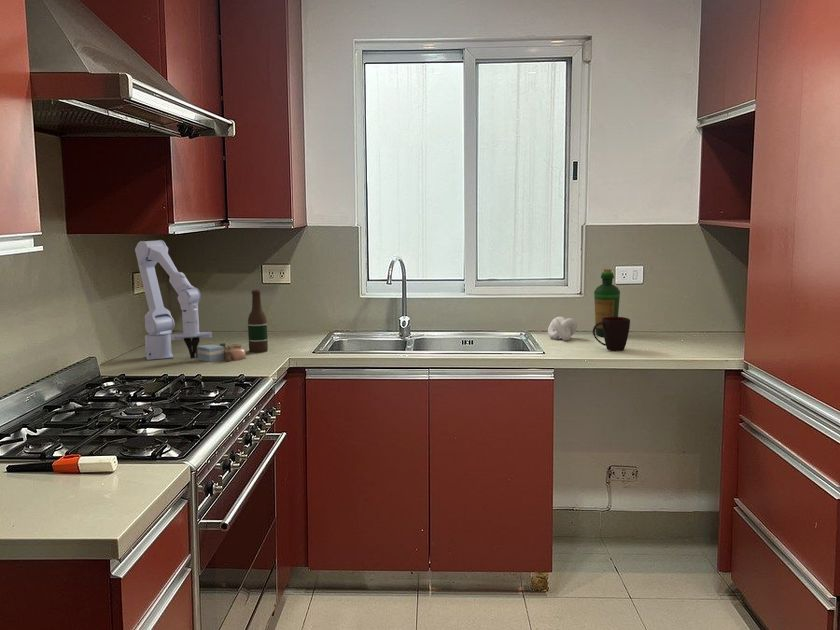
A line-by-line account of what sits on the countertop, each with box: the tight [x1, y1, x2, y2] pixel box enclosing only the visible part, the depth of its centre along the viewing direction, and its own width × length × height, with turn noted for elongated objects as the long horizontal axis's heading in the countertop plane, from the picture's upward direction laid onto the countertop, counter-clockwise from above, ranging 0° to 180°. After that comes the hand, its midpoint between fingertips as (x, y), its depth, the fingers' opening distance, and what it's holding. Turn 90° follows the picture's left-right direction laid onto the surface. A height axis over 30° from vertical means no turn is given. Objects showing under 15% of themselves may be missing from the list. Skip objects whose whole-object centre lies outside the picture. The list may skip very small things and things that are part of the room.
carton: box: [197, 344, 225, 363], centre depth 300 cm, size 6×8×5 cm
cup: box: [592, 316, 631, 352], centre depth 307 cm, size 10×14×12 cm
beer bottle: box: [247, 289, 269, 354], centre depth 314 cm, size 8×8×24 cm
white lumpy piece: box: [547, 316, 578, 342], centre depth 333 cm, size 11×12×9 cm
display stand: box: [195, 342, 232, 363], centre depth 300 cm, size 11×16×4 cm
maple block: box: [226, 343, 242, 350], centre depth 307 cm, size 4×4×4 cm
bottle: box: [593, 268, 621, 338], centre depth 337 cm, size 11×11×28 cm
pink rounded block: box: [229, 347, 246, 361], centre depth 300 cm, size 6×6×4 cm
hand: (192, 358), depth 297 cm, fingers closed
